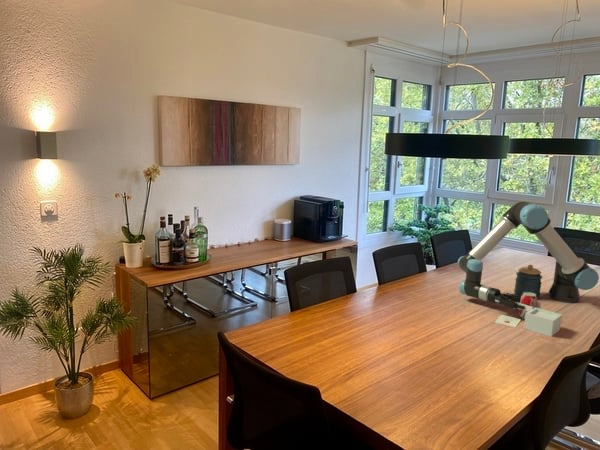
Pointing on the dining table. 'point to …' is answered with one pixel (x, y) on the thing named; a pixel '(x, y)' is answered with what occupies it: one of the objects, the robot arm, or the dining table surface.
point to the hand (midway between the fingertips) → (536, 307)
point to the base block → (542, 321)
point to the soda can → (527, 302)
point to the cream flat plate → (508, 321)
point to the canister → (528, 281)
